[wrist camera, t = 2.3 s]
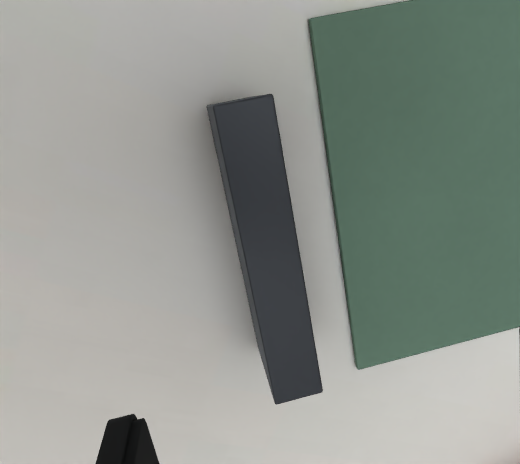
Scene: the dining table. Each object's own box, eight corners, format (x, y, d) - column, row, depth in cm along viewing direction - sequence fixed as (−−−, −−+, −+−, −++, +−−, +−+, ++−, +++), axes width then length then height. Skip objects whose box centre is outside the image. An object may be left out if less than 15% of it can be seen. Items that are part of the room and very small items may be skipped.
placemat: (307, 19, 21) (310, 18, 21) (549, -24, 22) (556, -27, 22) (355, 366, 27) (358, 370, 27) (544, 316, 28) (548, 319, 28)
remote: (206, 105, 21) (212, 105, 17) (256, 95, 22) (277, 92, 17) (258, 348, 26) (275, 405, 21) (299, 337, 26) (326, 391, 21)
